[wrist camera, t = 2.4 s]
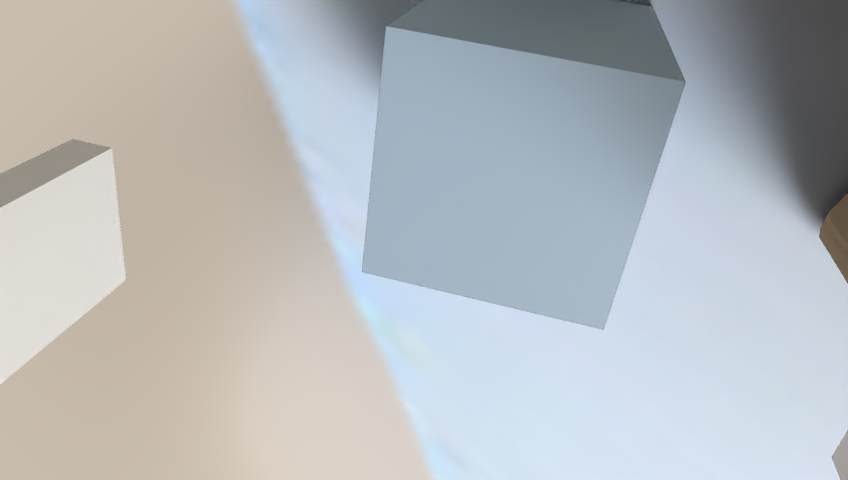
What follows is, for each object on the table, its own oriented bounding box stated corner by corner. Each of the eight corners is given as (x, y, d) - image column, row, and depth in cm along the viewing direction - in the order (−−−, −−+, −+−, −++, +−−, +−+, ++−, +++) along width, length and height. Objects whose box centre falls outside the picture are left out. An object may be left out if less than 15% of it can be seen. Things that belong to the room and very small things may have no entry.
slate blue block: (462, -27, 21) (385, 26, 14) (652, 6, 21) (686, 82, 13) (436, 147, 24) (362, 272, 17) (601, 182, 24) (603, 329, 16)
